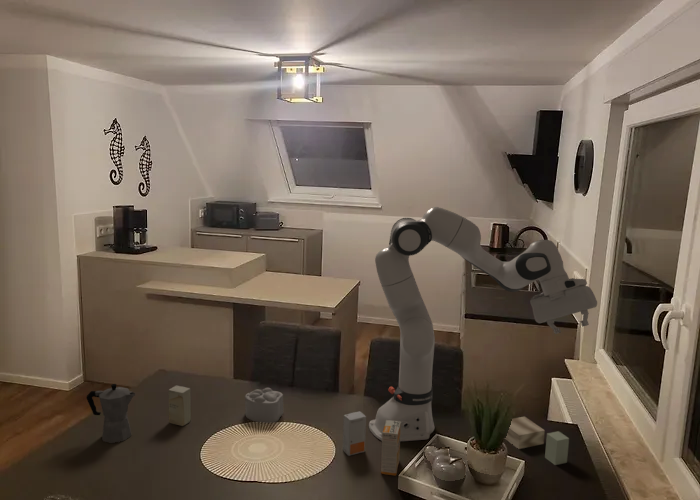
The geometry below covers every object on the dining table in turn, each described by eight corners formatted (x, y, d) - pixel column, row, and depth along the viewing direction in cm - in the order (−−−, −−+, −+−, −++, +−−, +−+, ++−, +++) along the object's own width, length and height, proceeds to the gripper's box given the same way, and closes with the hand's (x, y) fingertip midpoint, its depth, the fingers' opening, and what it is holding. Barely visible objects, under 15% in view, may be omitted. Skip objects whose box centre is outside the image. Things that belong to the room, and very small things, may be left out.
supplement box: (396, 476, 155) (398, 434, 153) (380, 474, 156) (381, 432, 154) (400, 461, 163) (401, 420, 161) (384, 459, 164) (385, 419, 162)
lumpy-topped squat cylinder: (275, 424, 184) (275, 400, 183) (240, 419, 187) (239, 396, 186) (285, 410, 194) (285, 388, 193) (251, 406, 197) (251, 384, 196)
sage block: (555, 465, 162) (557, 440, 161) (544, 457, 166) (546, 433, 165) (566, 462, 164) (569, 438, 162) (556, 454, 168) (558, 431, 167)
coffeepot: (142, 429, 180) (139, 378, 177) (132, 443, 170) (129, 390, 167) (95, 429, 179) (92, 378, 176) (82, 443, 170) (78, 390, 167)
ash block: (518, 449, 171) (519, 435, 170) (499, 434, 180) (500, 421, 179) (543, 444, 174) (544, 430, 174) (523, 430, 184) (524, 416, 183)
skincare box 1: (168, 423, 184) (167, 389, 182) (177, 417, 188) (176, 384, 186) (183, 426, 182) (182, 392, 180) (192, 420, 186) (190, 387, 184)
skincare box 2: (348, 456, 165) (349, 420, 163) (342, 450, 169) (342, 414, 167) (365, 452, 168) (366, 416, 166) (359, 445, 171) (360, 410, 169)
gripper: (524, 297, 178) (537, 338, 174) (582, 278, 164) (598, 322, 161) (533, 296, 182) (546, 336, 179) (590, 277, 169) (606, 320, 165)
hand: (571, 329), depth 170 cm, fingers open, 8 cm apart
